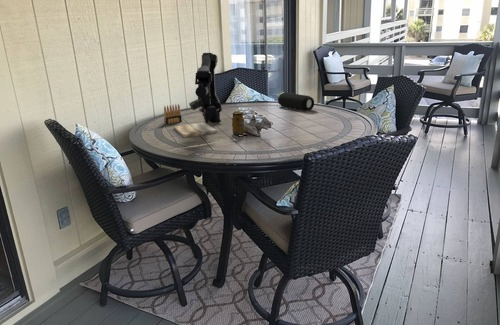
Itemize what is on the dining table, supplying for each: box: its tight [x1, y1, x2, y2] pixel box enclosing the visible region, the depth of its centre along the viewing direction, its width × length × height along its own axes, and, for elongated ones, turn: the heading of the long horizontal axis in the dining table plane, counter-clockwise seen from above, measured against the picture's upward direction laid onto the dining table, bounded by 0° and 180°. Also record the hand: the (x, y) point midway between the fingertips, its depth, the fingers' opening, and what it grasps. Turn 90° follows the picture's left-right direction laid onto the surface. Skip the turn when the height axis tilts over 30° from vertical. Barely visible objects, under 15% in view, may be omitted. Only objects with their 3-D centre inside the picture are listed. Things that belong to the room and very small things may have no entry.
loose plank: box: [188, 121, 218, 136], centre depth 225 cm, size 9×20×2 cm, turn 26°
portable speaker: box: [277, 92, 315, 112], centre depth 274 cm, size 26×10×10 cm, turn 42°
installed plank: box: [173, 124, 201, 139], centre depth 221 cm, size 9×20×2 cm, turn 26°
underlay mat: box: [167, 128, 221, 140], centre depth 223 cm, size 23×22×1 cm
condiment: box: [231, 111, 245, 137], centre depth 215 cm, size 7×8×12 cm
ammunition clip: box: [163, 103, 183, 125], centre depth 241 cm, size 11×2×12 cm, turn 125°
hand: (206, 122), depth 220 cm, fingers closed
